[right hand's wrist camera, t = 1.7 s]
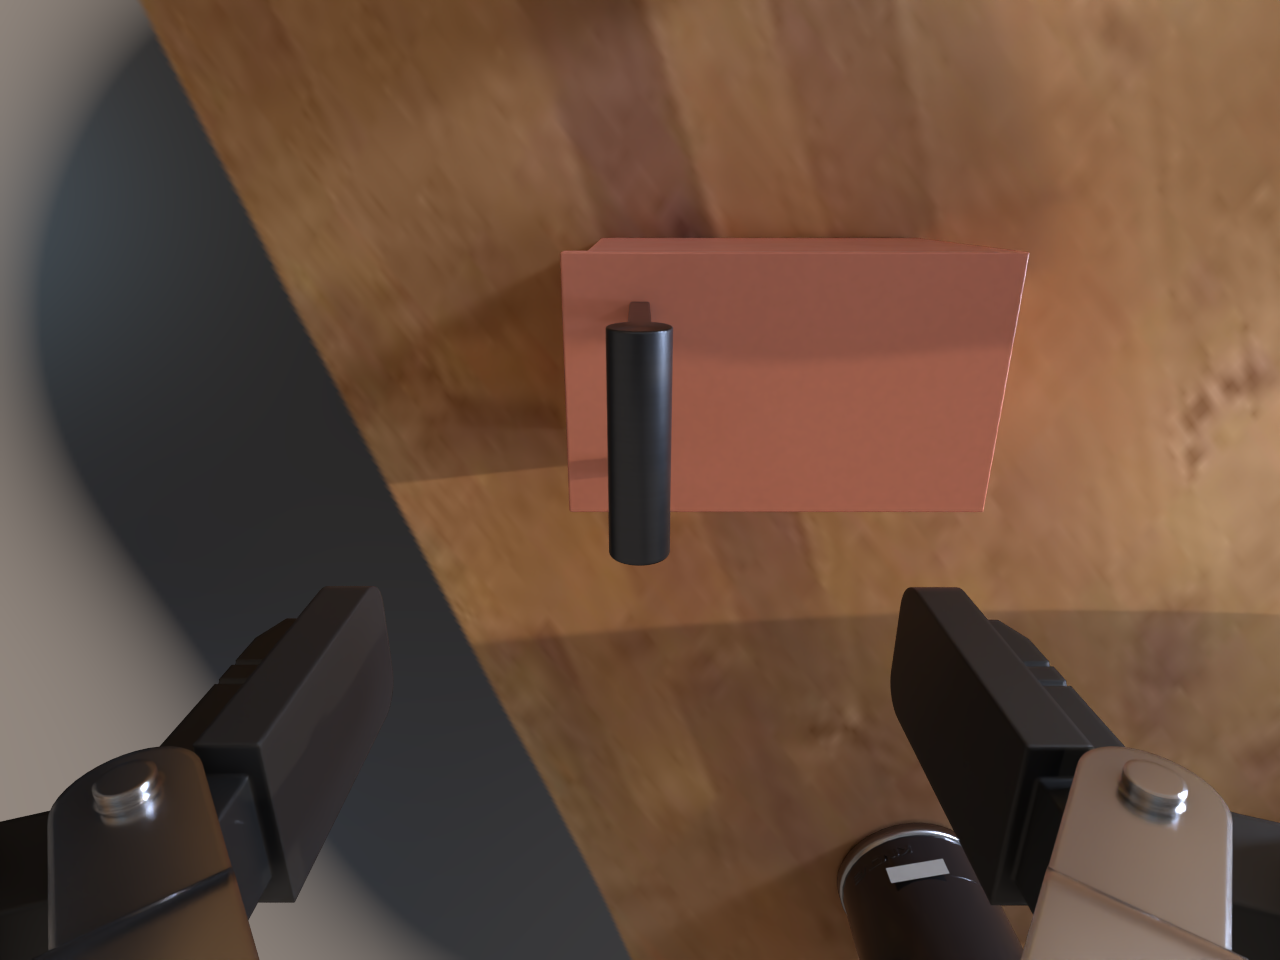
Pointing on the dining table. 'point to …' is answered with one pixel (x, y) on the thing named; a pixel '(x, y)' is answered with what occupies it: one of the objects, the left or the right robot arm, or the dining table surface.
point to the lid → (782, 382)
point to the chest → (782, 244)
